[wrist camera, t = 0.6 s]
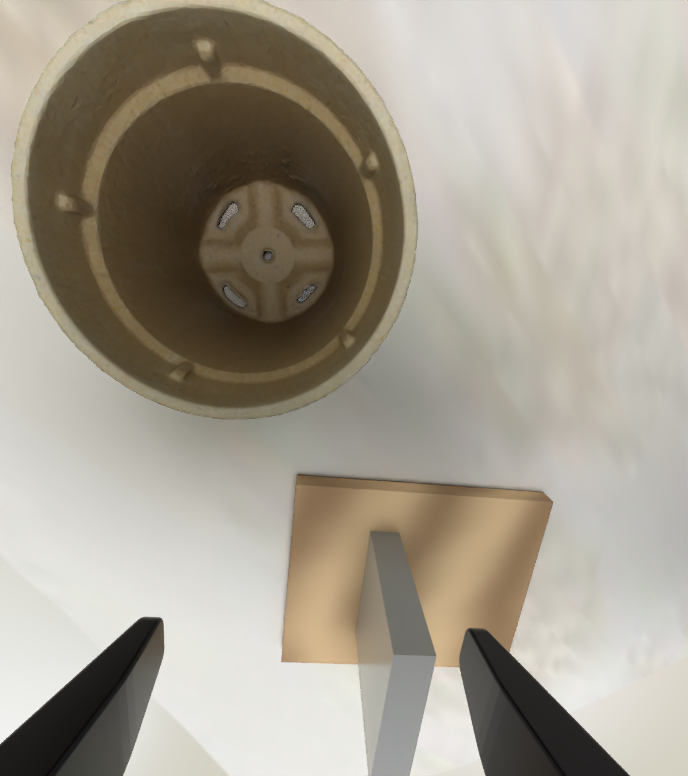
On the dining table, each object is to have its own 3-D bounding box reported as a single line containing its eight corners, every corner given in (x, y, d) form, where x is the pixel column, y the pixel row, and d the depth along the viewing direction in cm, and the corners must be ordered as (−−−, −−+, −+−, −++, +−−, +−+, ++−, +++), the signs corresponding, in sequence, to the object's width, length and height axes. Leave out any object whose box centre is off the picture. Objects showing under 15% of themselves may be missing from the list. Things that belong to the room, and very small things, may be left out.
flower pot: (404, 191, 17) (485, 103, 8) (332, 383, 19) (340, 463, 11) (195, 100, 15) (44, -113, 7) (145, 319, 18) (-15, 352, 9)
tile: (400, 532, 20) (438, 656, 14) (383, 633, 22) (408, 785, 16) (370, 530, 20) (393, 654, 14) (355, 631, 22) (369, 784, 15)
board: (542, 492, 21) (553, 502, 20) (497, 653, 25) (504, 668, 24) (297, 475, 20) (295, 484, 19) (283, 646, 23) (281, 662, 22)
